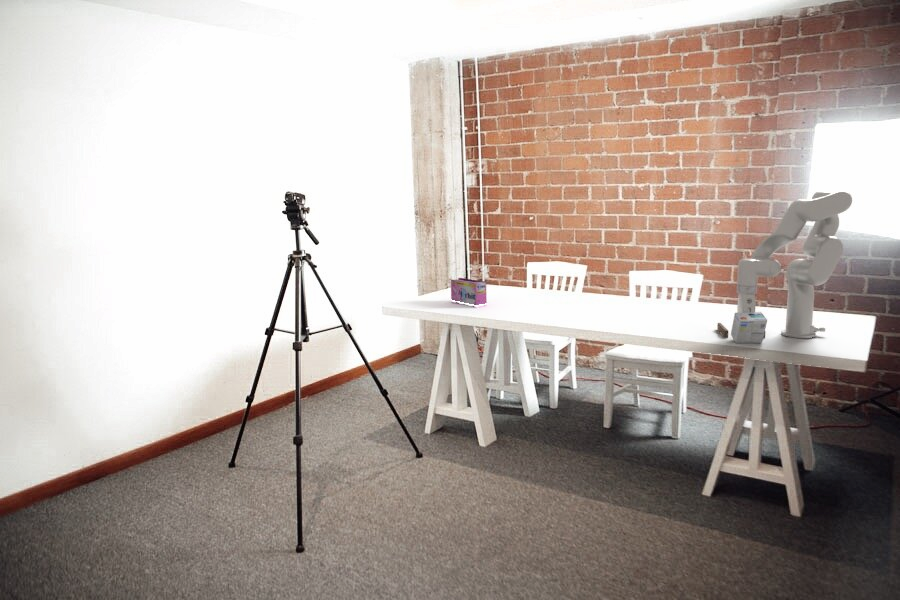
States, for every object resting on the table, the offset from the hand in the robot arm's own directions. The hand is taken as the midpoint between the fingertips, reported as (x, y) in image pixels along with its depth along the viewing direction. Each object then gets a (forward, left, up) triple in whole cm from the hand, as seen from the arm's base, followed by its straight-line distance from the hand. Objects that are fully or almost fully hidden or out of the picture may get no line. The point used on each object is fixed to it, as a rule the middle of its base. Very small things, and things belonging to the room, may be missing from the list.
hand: (743, 333), depth 262 cm
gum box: (+126, -74, -2) cm, 146 cm away
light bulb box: (0, +4, -1) cm, 5 cm away
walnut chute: (-1, -9, -2) cm, 9 cm away
